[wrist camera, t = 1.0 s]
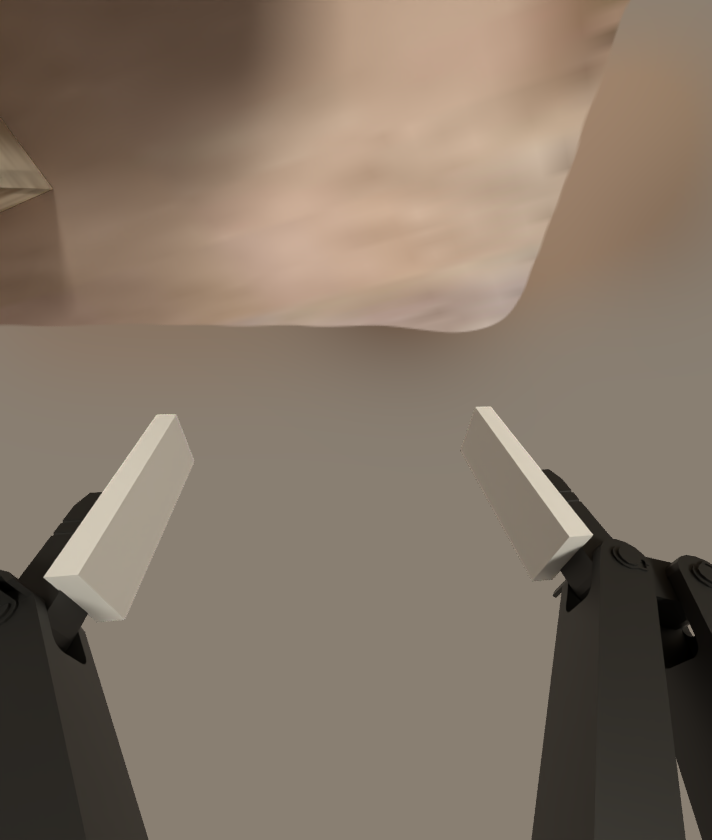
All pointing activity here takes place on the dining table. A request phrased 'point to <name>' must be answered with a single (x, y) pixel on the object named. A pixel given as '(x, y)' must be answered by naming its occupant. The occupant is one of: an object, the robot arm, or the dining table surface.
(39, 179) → the open box
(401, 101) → the dining table surface
